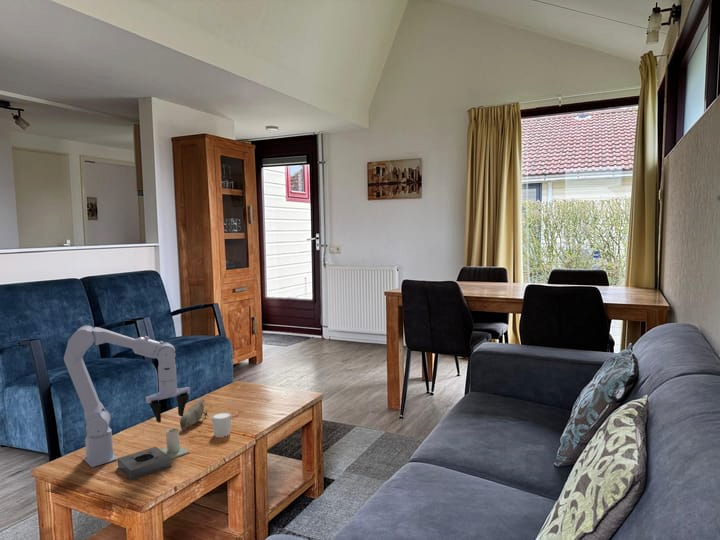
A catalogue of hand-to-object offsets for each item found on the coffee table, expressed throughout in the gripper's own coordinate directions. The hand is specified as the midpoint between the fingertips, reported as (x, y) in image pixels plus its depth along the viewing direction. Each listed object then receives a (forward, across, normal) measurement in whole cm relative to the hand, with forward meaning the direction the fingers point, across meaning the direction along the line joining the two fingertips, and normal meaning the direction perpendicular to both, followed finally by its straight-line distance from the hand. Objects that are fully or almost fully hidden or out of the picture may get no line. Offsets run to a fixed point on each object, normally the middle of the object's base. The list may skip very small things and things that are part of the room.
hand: (169, 418), depth 171 cm
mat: (+10, -1, -4) cm, 11 cm away
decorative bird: (+11, +16, +16) cm, 25 cm away
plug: (+10, -1, -4) cm, 11 cm away
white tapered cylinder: (+11, +18, -2) cm, 21 cm away
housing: (+10, -12, -8) cm, 18 cm away
